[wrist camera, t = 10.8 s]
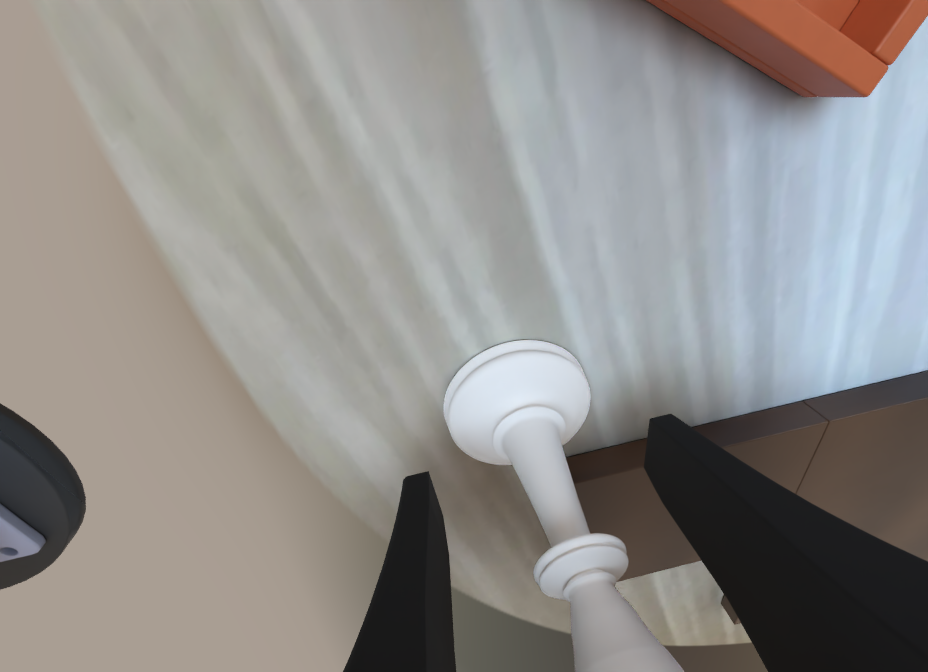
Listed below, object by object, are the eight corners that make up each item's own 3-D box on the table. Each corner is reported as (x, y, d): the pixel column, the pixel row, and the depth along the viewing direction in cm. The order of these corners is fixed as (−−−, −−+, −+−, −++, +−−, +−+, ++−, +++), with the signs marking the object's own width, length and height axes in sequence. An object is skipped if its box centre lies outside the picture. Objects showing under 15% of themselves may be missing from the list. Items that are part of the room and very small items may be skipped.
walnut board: (569, 643, 25) (577, 666, 24) (560, 458, 15) (572, 483, 14) (1036, 521, 26) (1062, 539, 25) (1290, 283, 17) (1348, 296, 16)
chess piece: (456, 464, 15) (541, 963, 6) (429, 358, 12) (515, 975, 4) (584, 434, 15) (833, 878, 6) (585, 324, 12) (1008, 828, 4)
